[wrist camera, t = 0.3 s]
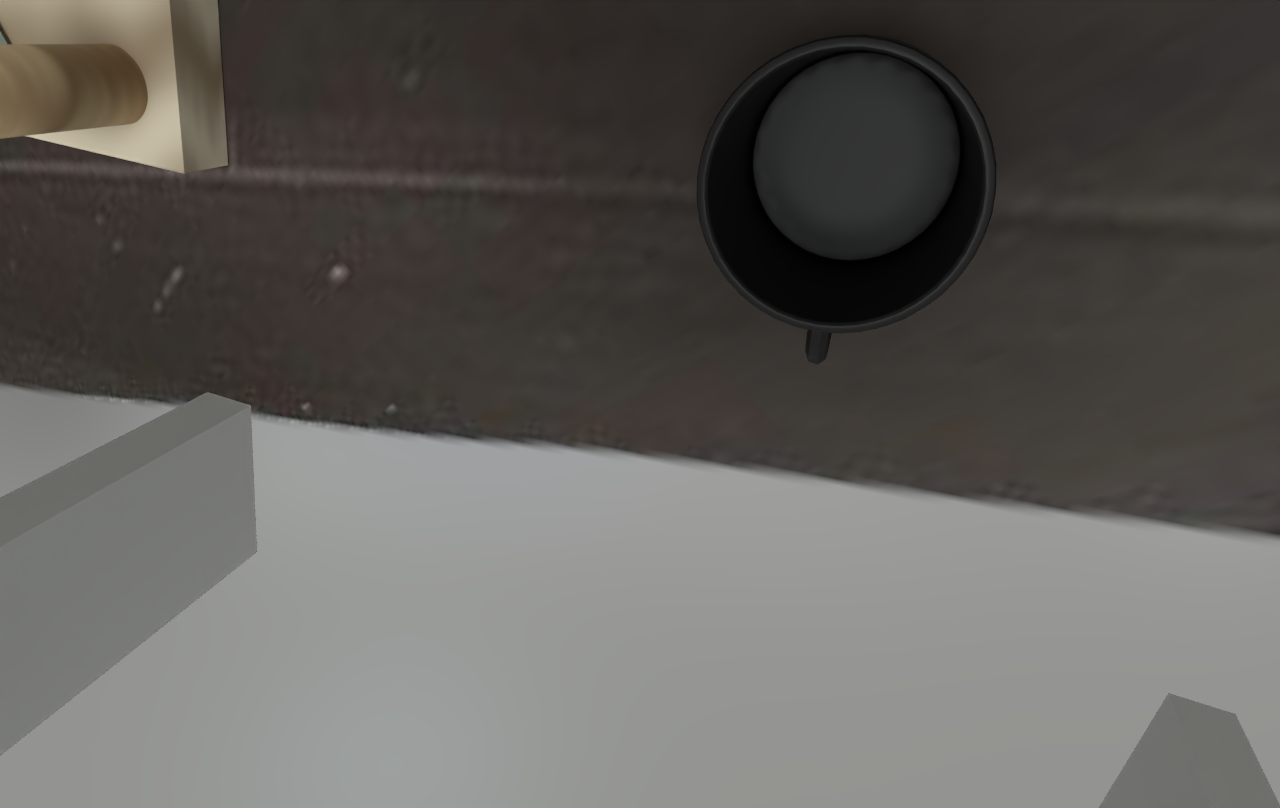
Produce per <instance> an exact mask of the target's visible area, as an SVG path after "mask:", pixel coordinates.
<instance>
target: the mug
mask: <svg viewBox="0 0 1280 808" xmlns="http://www.w3.org/2000/svg"><path fill="white" fill-rule="evenodd" d="M995 193H996V160H995V154H994V148H993V143H992V139H991V136H990V133H989V130H988V127H987V124H986V121H985V119H984V116H983V114H982V112H981V111H980V109H979V107H978V106H977V104H976V102H975V100H974V99H973V97H972V96H971V94H970V93H969V91H968V90H967V89H966V88H965V87H964V85H963V84H962V83H961V82H960V81H959V80H958V78H957V77H956V76H955V75H954V74H953V73H951V72H950V71H949V70H948V69H947V68H945V67H944V66H943V65H942V64H941V63H939V62H938V61H936V60H935V59H933V58H932V57H930V56H929V55H927V54H926V53H924V52H923V51H921V50H919V49H917V48H915V47H914V46H912V45H909V44H906V43H903V42H900V41H897V40H893V39H889V38H883V37H877V36H869V35H844V36H834V37H828V38H823V39H817V40H813V41H811V42H808V43H805V44H802V45H799V46H796V47H794V48H792V49H789V50H787V51H785V52H783V53H782V54H780V55H778V56H776V57H774V58H772V59H770V60H769V61H768V62H766V63H765V64H764V65H762V66H761V67H760V68H758V69H757V70H756V71H754V72H753V73H752V74H751V75H750V76H749V77H748V78H747V79H746V80H745V81H744V82H743V83H742V84H741V85H740V86H739V87H738V88H737V89H736V90H735V91H734V92H733V93H732V95H731V96H730V97H729V99H728V100H727V102H726V103H725V104H724V106H723V107H722V109H721V110H720V112H719V114H718V115H717V117H716V119H715V121H714V123H713V125H712V127H711V129H710V131H709V133H708V136H707V139H706V142H705V145H704V148H703V151H702V155H701V159H700V164H699V170H698V176H697V205H698V213H699V221H700V224H701V228H702V231H703V235H704V238H705V241H706V244H707V246H708V248H709V250H710V253H711V255H712V257H713V259H714V261H715V263H716V264H717V266H718V267H719V269H720V270H721V272H722V273H723V275H724V276H725V278H726V279H727V280H728V281H729V283H730V284H731V285H732V286H733V287H734V288H735V289H736V290H737V291H738V293H739V294H740V295H741V296H743V297H744V298H745V299H746V300H748V301H749V302H750V303H751V304H753V305H754V306H755V307H757V308H758V309H760V310H761V311H763V312H765V313H766V314H768V315H770V316H771V317H773V318H775V319H777V320H780V321H782V322H785V323H787V324H790V325H793V326H796V327H799V328H803V329H808V332H807V339H806V355H807V358H808V361H809V362H812V363H815V364H819V363H821V362H822V361H823V360H825V359H826V356H827V352H828V348H829V344H830V339H831V334H832V333H849V332H861V331H866V330H871V329H876V328H880V327H883V326H886V325H889V324H892V323H894V322H897V321H900V320H903V319H905V318H906V317H908V316H910V315H912V314H914V313H916V312H917V311H919V310H921V309H922V308H924V307H926V306H927V305H928V304H930V303H931V302H932V301H934V300H935V299H936V298H938V297H939V296H940V295H942V294H943V293H944V292H945V291H946V290H947V289H948V288H949V287H950V286H951V285H952V284H953V283H954V282H955V281H956V280H957V279H958V277H959V276H960V275H961V274H962V273H963V271H964V270H965V268H966V267H967V266H968V264H969V263H970V262H971V260H972V259H973V257H974V255H975V253H976V252H977V250H978V248H979V246H980V244H981V242H982V240H983V238H984V235H985V233H986V230H987V227H988V224H989V221H990V218H991V215H992V211H993V205H994V199H995Z"/></svg>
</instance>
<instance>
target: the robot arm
mask: <svg viewBox="0 0 1280 808" xmlns="http://www.w3.org/2000/svg"><path fill="white" fill-rule="evenodd" d="M256 552H257V542H256V518H255V495H254V474H253V451H252V428H251V406H250V405H247V404H244V403H241V402H238V401H234V400H231V399H228V398H225V397H222V396H218V395H215V394H212V393H209V392H207V393H205V394H203V395H201V396H199V397H197V398H195V399H193V400H191V401H189V402H187V403H185V404H183V405H181V406H179V407H177V408H175V409H174V410H172V411H170V412H168V413H166V414H164V415H162V416H160V417H158V418H156V419H154V420H152V421H150V422H148V423H146V424H144V425H142V426H140V427H138V428H136V429H134V430H133V431H130V432H128V433H126V434H125V435H123V436H121V437H119V438H117V439H115V440H113V441H111V442H109V443H107V444H105V445H103V446H101V447H99V448H97V449H95V450H93V451H91V452H89V453H87V454H85V455H83V456H81V457H79V458H78V459H76V460H74V461H71V462H69V463H68V464H66V465H64V466H62V467H60V468H58V469H56V470H54V471H52V472H50V473H48V474H46V475H44V476H42V477H40V478H38V479H36V480H34V481H32V482H30V483H28V484H26V485H24V486H22V487H20V488H18V489H16V490H15V491H13V492H11V493H9V494H7V495H5V496H3V497H1V498H0V755H2V754H3V753H4V752H6V751H7V750H8V749H9V748H11V747H12V746H13V745H14V744H16V743H17V742H18V741H19V740H21V739H22V738H23V737H25V736H26V735H27V734H28V733H29V732H31V731H32V730H33V729H35V728H36V727H37V726H38V725H39V724H41V723H42V722H43V721H44V720H46V719H47V718H48V717H50V716H51V715H52V714H53V713H55V712H56V711H57V710H58V709H60V708H61V707H62V706H64V705H65V704H66V703H67V702H69V701H70V700H71V699H72V698H74V697H75V696H76V695H77V694H79V693H80V692H81V691H82V690H84V689H85V688H86V687H87V686H89V685H90V684H91V683H92V682H94V681H95V680H96V679H97V678H99V677H100V676H101V675H102V674H104V673H105V672H106V671H108V670H109V669H110V668H111V667H113V666H114V665H115V664H116V663H118V662H119V661H120V660H121V659H123V658H124V657H125V656H126V655H128V654H129V653H130V652H132V651H133V650H134V649H135V648H136V647H138V646H139V645H140V644H141V643H143V642H144V641H145V640H147V639H148V638H149V637H150V636H152V635H153V634H154V633H155V632H157V631H158V630H159V629H160V628H162V627H163V626H164V625H165V624H167V623H168V622H169V621H171V620H172V619H173V618H174V617H175V616H177V615H178V614H179V613H181V612H182V611H183V610H184V609H186V608H187V607H188V606H189V605H191V604H192V603H193V602H194V601H195V600H197V599H198V598H199V597H201V596H202V595H203V594H205V593H206V592H207V591H208V590H210V589H211V588H212V587H213V586H214V585H216V584H217V583H218V582H220V581H221V580H222V579H223V578H225V577H226V576H227V575H228V574H230V573H231V572H232V571H233V570H235V569H236V568H237V567H239V566H240V565H241V564H242V563H243V562H245V561H246V560H247V559H249V558H250V557H251V556H252V555H254V554H255V553H256ZM1099 808H1280V805H1279V803H1278V801H1277V799H1276V797H1275V795H1274V793H1273V791H1272V788H1271V786H1270V784H1269V782H1268V780H1267V778H1266V776H1265V774H1264V772H1263V770H1262V768H1261V766H1260V764H1259V762H1258V760H1257V758H1256V756H1255V753H1254V751H1253V749H1252V747H1251V745H1250V743H1249V741H1248V739H1247V737H1246V735H1245V733H1244V731H1243V729H1242V727H1241V725H1240V723H1239V720H1238V719H1237V716H1236V715H1235V714H1233V713H1230V712H1227V711H1223V710H1220V709H1217V708H1214V707H1211V706H1207V705H1204V704H1201V703H1198V702H1195V701H1192V700H1188V699H1185V698H1182V697H1179V696H1176V695H1173V694H1168V695H1167V697H1166V698H1165V700H1164V702H1163V703H1162V705H1161V707H1160V708H1159V710H1158V711H1157V713H1156V715H1155V717H1154V718H1153V720H1152V721H1151V723H1150V725H1149V726H1148V728H1147V730H1146V731H1145V733H1144V735H1143V736H1142V738H1141V739H1140V741H1139V743H1138V744H1137V746H1136V748H1135V749H1134V751H1133V753H1132V754H1131V756H1130V757H1129V759H1128V761H1127V762H1126V764H1125V766H1124V767H1123V769H1122V771H1121V772H1120V774H1119V776H1118V777H1117V779H1116V780H1115V782H1114V784H1113V785H1112V787H1111V789H1110V790H1109V792H1108V794H1107V796H1106V797H1105V799H1104V800H1103V802H1102V803H1101V805H1100V807H1099Z"/></svg>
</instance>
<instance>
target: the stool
mask: <svg viewBox="0 0 1280 808" xmlns="http://www.w3.org/2000/svg"><path fill="white" fill-rule="evenodd" d="M0 32H1V33H2V35H3V37H4V39H5V41H6V43H7V44H0V138H9V137H18V136H28V137H32V138H36V139H41V140H45V141H49V142H53V143H57V144H62V145H66V146H70V147H74V148H79V149H83V150H87V151H91V152H95V153H100V154H104V155H108V156H112V157H117V158H121V159H125V160H129V161H134V162H138V163H142V164H146V165H150V166H155V167H159V168H163V169H167V170H172V171H176V172H180V173H184V174H185V173H190V172H195V171H201V170H206V169H211V168H217V167H222V166H227V165H228V154H227V139H226V123H225V107H224V91H223V76H222V60H221V44H220V29H219V13H218V0H0Z"/></svg>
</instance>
